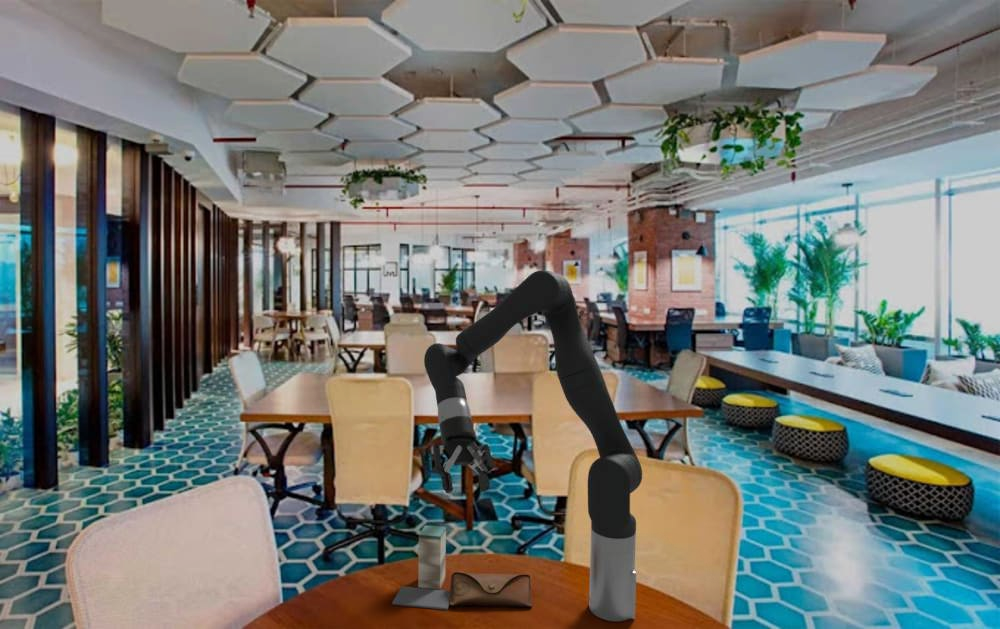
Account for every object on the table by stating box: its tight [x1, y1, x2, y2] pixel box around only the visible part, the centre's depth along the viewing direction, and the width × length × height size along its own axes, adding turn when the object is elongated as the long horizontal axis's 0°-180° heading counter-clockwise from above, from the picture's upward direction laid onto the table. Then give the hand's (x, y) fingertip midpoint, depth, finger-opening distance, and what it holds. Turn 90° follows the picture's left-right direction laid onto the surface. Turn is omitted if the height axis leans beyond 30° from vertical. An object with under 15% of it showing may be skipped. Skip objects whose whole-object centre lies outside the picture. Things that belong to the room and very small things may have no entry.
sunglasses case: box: [449, 571, 533, 608], centre depth 120 cm, size 18×7×7 cm, turn 93°
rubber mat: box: [391, 586, 451, 611], centre depth 119 cm, size 12×6×1 cm, turn 82°
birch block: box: [417, 525, 447, 590], centre depth 126 cm, size 5×5×12 cm
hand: (467, 491), depth 117 cm, fingers open, 8 cm apart
